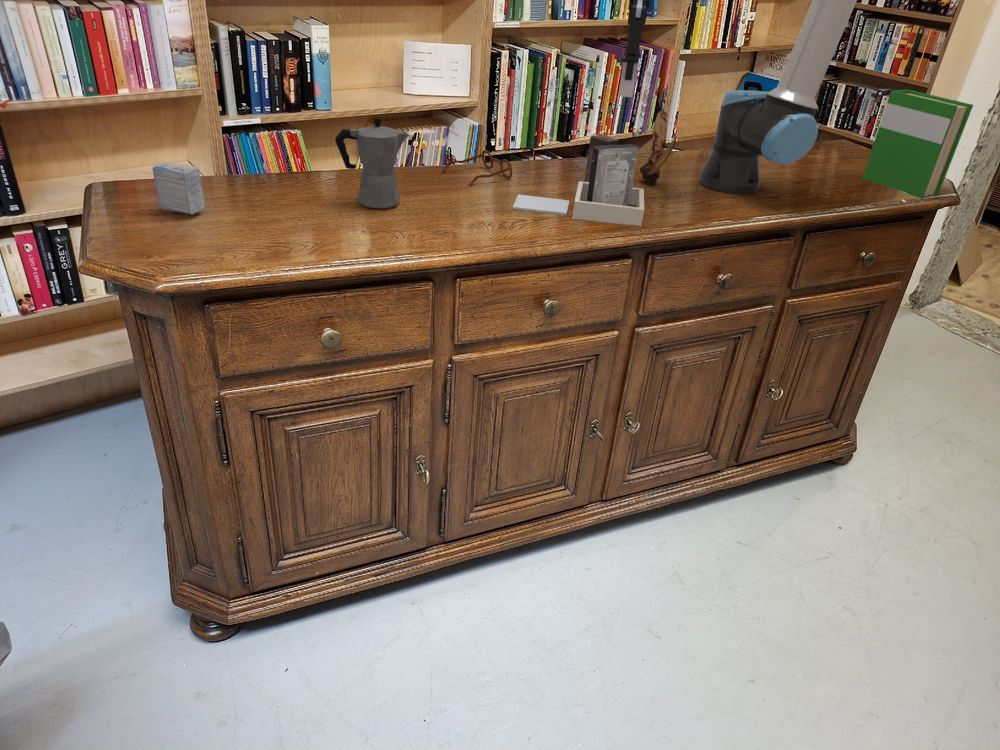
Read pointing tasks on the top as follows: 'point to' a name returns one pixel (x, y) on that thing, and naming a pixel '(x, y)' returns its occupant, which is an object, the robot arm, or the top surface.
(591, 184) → the disk drive
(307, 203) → the top surface
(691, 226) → the top surface
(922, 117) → the hardback book
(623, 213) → the storage box
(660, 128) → the bone fish hook
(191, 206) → the medicine box
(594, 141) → the box
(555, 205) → the mat
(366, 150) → the coffeepot
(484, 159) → the glasses
